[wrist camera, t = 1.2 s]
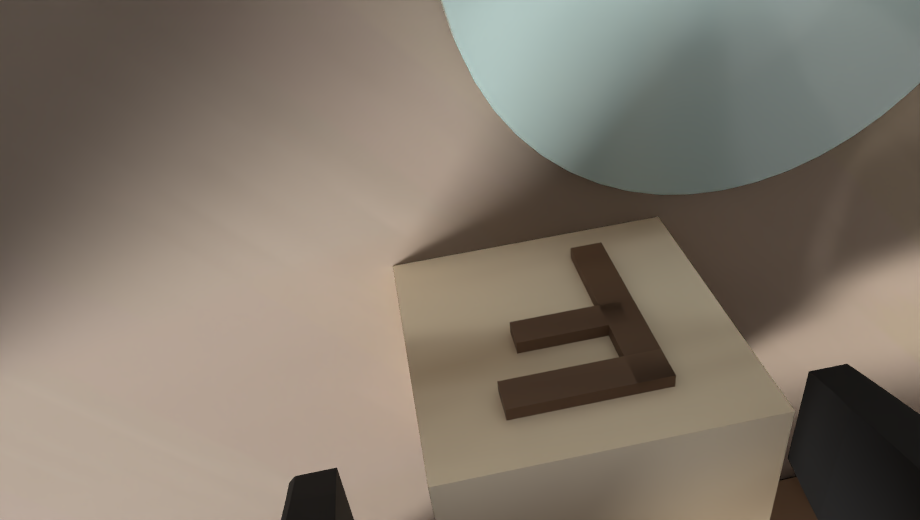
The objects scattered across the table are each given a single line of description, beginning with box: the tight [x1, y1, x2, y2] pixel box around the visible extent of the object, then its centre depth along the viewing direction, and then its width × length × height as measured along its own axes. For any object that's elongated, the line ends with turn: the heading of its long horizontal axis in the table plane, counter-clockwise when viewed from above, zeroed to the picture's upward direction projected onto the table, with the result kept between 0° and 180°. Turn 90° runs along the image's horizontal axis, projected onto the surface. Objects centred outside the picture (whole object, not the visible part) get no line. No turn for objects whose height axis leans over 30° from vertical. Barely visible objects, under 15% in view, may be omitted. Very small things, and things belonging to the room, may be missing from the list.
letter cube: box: [393, 217, 795, 520], centre depth 12 cm, size 5×4×4 cm
